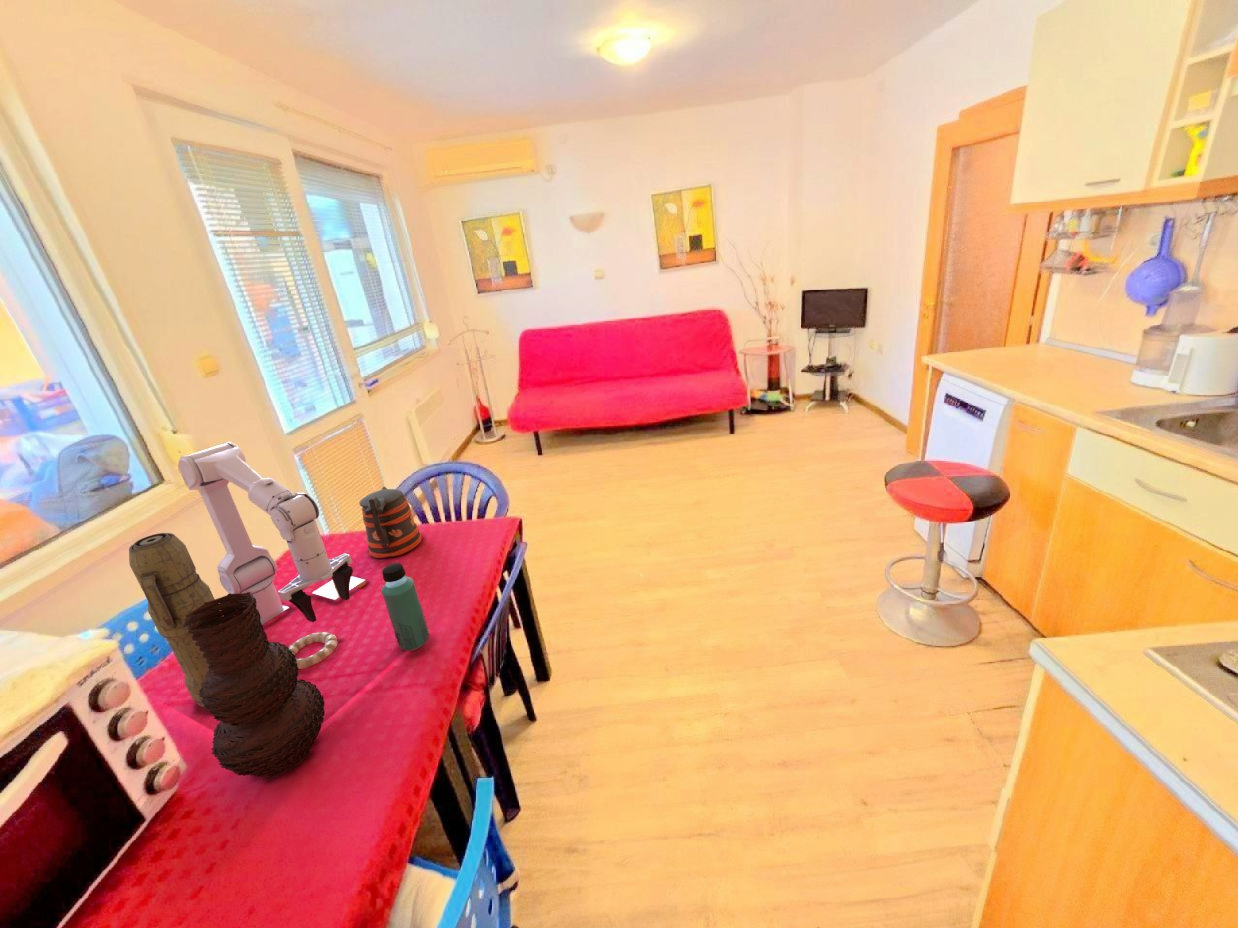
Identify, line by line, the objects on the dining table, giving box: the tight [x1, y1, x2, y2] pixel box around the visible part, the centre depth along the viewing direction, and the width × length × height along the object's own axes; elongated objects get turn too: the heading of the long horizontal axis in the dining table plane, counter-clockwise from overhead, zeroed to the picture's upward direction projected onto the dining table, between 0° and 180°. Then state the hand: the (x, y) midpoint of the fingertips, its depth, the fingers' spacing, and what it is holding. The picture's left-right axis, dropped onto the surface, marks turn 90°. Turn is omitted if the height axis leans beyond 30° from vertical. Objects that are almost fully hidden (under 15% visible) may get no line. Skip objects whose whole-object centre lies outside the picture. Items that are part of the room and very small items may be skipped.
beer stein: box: [359, 486, 422, 559], centre depth 144 cm, size 19×15×20 cm
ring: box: [288, 631, 339, 670], centre depth 108 cm, size 10×10×2 cm
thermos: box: [128, 532, 216, 708], centre depth 93 cm, size 9×12×35 cm
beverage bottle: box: [381, 562, 430, 652], centre depth 104 cm, size 6×7×20 cm
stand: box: [311, 575, 368, 601], centre depth 129 cm, size 9×9×7 cm
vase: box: [180, 592, 326, 780], centre depth 80 cm, size 15×15×30 cm
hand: (329, 608), depth 106 cm, fingers open, 7 cm apart
